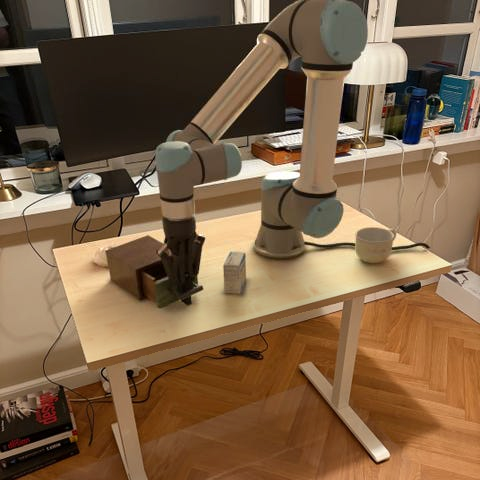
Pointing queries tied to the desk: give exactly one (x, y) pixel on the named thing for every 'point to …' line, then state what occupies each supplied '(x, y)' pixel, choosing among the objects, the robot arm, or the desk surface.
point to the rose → (102, 256)
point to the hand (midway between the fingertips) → (186, 302)
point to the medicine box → (234, 272)
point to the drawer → (163, 286)
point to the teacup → (374, 244)
